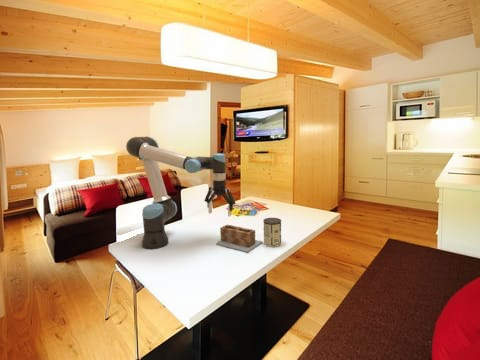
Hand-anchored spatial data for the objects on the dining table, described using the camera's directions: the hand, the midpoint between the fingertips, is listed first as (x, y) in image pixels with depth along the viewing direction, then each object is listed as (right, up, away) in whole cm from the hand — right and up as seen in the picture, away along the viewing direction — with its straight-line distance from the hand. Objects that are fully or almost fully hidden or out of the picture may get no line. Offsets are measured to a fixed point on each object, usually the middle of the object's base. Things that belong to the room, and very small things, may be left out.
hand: (219, 214), depth 162 cm
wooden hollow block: (+11, -16, -4) cm, 20 cm away
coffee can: (+31, -17, -5) cm, 36 cm away
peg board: (+12, -17, -5) cm, 21 cm away
